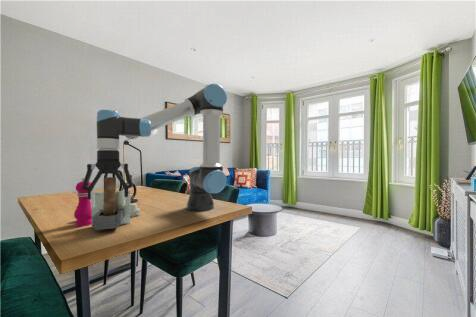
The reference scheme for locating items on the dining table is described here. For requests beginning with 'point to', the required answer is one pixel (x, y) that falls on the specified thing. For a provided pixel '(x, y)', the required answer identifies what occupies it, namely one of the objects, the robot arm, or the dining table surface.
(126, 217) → the grey card holder
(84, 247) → the dining table surface
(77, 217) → the pepper mill
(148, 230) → the dining table surface
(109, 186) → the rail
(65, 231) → the dining table surface
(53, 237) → the dining table surface
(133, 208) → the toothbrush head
